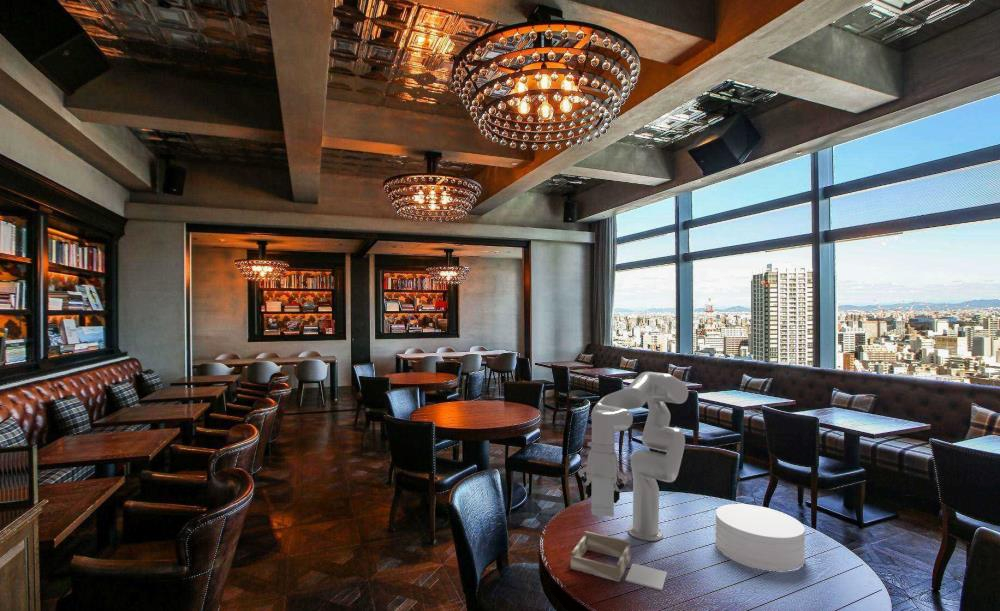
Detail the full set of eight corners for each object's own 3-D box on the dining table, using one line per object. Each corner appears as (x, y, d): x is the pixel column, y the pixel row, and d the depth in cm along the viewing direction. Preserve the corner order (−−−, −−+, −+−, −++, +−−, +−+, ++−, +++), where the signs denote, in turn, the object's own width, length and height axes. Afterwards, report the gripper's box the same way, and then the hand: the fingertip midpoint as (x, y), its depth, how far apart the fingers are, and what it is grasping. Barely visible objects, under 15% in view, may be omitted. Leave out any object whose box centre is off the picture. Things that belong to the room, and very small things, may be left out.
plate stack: (719, 527, 190) (719, 498, 191) (802, 545, 176) (802, 514, 177) (711, 558, 166) (711, 524, 166) (806, 581, 152) (807, 545, 152)
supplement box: (614, 517, 157) (614, 478, 157) (591, 515, 158) (591, 476, 158) (613, 508, 164) (613, 471, 164) (591, 506, 166) (591, 469, 166)
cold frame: (585, 547, 171) (585, 530, 171) (630, 559, 164) (630, 541, 164) (570, 568, 157) (570, 550, 157) (619, 581, 150) (619, 562, 150)
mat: (632, 564, 160) (632, 563, 160) (667, 573, 155) (667, 571, 155) (625, 580, 150) (625, 579, 150) (661, 590, 145) (661, 589, 145)
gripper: (574, 446, 162) (574, 498, 162) (626, 454, 154) (626, 508, 154) (581, 441, 169) (581, 490, 168) (631, 448, 161) (631, 500, 161)
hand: (602, 499), depth 161 cm, fingers closed on supplement box, 8 cm apart
